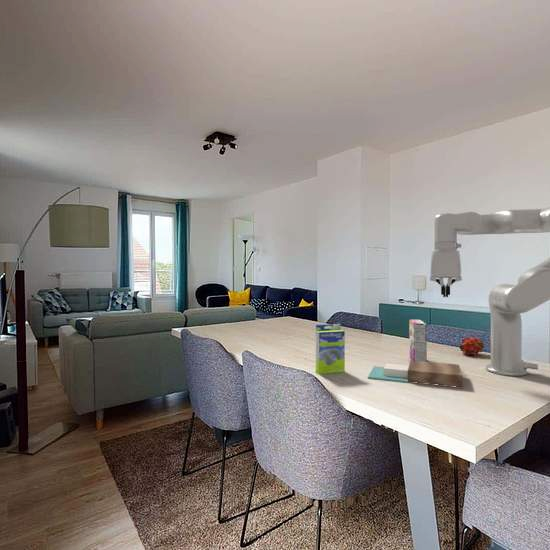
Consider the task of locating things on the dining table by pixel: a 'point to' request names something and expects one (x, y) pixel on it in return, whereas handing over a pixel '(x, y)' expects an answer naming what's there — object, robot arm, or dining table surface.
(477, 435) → the dining table surface
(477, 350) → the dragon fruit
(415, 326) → the candy bar box
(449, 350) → the dining table surface
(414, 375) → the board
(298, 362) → the dining table surface
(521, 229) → the robot arm
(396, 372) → the tile
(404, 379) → the mat
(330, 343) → the box
